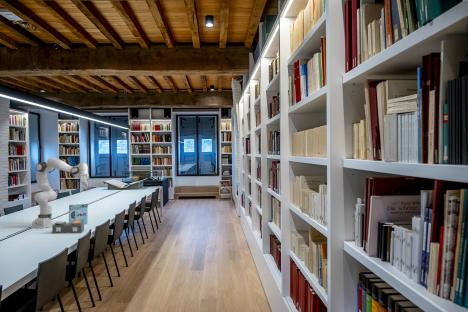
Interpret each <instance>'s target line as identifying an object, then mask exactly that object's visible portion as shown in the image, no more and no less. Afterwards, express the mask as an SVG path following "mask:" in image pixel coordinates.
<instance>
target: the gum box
mask: <svg viewBox="0 0 468 312" xmlns="http://www.w3.org/2000/svg"><path fill="white" fill-rule="evenodd" d="M88 212H89V211H88V203H81V204H80V203H79V204H78V203H77V204H69V205H68V224H70V223H72V222H74V221H75V220H81V221H82V223H84V225H85V224H88V218H89V217H88V216H89V215H88Z"/></svg>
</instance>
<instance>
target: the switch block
mask: <svg viewBox="0 0 468 312" xmlns="http://www.w3.org/2000/svg"><path fill="white" fill-rule="evenodd" d="M57 222H60V221H57ZM62 222H63V223H56V222H55V223H54V224H52V225H53V226H52V229H51V230H52V231H51V233H52V234H82V233H84V231H85V224H84V223H82V221H81V222H79V225H73V222H72V223H70V224H69V223H67V221H62Z"/></svg>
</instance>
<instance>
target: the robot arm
mask: <svg viewBox="0 0 468 312" xmlns="http://www.w3.org/2000/svg"><path fill="white" fill-rule="evenodd" d="M35 169H36V173H35V177H36V184H37V187H38V189H40V190H41V191H40V192H37V193H35V195H34V201H35V202H37V203H38V205H39V206H38V207H39V214H38V215H37V218H35V219H33V221H31V222H32V223H31V225H30V226H29V227H30V229H45V228H51V227H52V226H53V225H54V224H53V220H52V218H53V214H52V206H51V205H50V204H49V202H51V201H54V200H56V199H57V197H58V193H57V192H56V191H55V190H53V189H52V186H51V185H50V182H49V178H48V174H50V173H52V172H54V171H55V170H58V171H63V172H68V173H70V175H72V176H74V177H77V178H78V179H80V181H81V183H82V186H83V189H84V190H85V191H87V190H88V187H89V182H88V181H89V177H90V175H89V167H88V164H87V163H86V162H79V163H78V164H77V165H76V166H71V165H69V164H68V163H66V162H65V161H63V160H62V159H60V158H58V157H57V158H56V157H50V158H48V159H47V161H46V162H45V161H41V162H38V163H37V164H36V166H35Z"/></svg>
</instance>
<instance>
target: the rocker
mask: <svg viewBox="0 0 468 312" xmlns="http://www.w3.org/2000/svg"><path fill="white" fill-rule="evenodd" d="M79 222H81V220H75V221H74V222H73V225H79Z"/></svg>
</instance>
